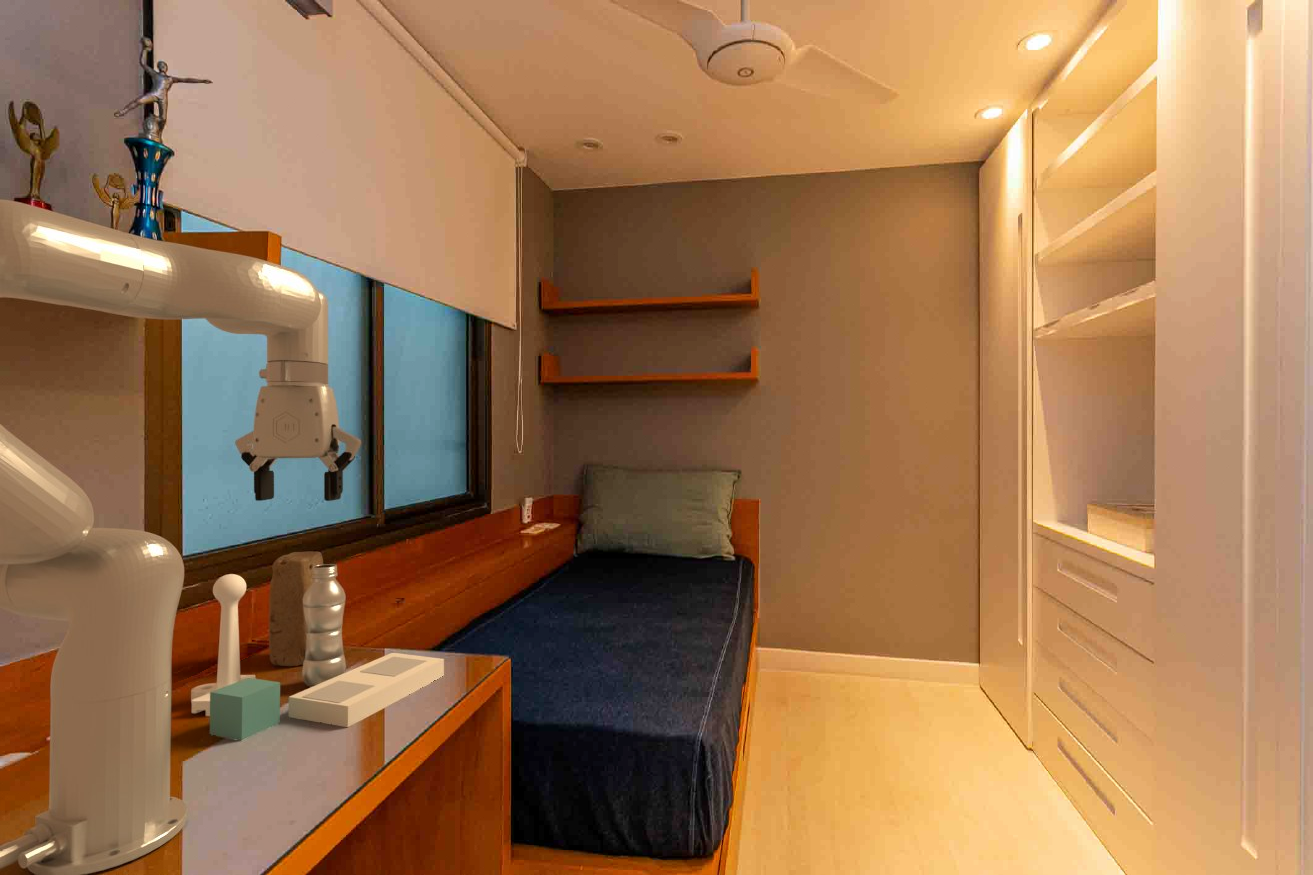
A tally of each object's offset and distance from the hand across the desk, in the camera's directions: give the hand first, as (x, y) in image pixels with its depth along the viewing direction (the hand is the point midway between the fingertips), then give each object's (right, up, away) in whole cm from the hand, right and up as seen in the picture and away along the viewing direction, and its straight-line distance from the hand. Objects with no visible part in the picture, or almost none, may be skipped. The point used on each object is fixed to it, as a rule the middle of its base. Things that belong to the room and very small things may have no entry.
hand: (298, 499), depth 91 cm
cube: (-9, -33, +2) cm, 34 cm away
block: (-18, -33, +32) cm, 50 cm away
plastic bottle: (-6, -33, +19) cm, 39 cm away
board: (+4, -33, +14) cm, 36 cm away
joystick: (-19, -33, +12) cm, 40 cm away
